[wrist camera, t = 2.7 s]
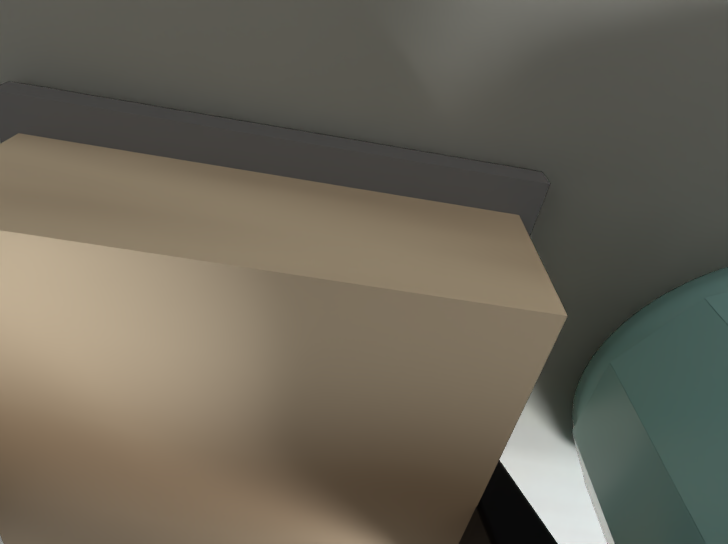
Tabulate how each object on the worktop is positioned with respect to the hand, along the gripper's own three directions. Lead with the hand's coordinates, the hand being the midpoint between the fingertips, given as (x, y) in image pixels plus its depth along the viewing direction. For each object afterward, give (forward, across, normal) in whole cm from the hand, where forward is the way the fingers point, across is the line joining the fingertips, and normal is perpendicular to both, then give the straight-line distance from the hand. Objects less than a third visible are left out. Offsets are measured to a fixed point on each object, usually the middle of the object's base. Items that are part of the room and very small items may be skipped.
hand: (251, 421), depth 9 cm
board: (+1, 0, 0) cm, 1 cm away
